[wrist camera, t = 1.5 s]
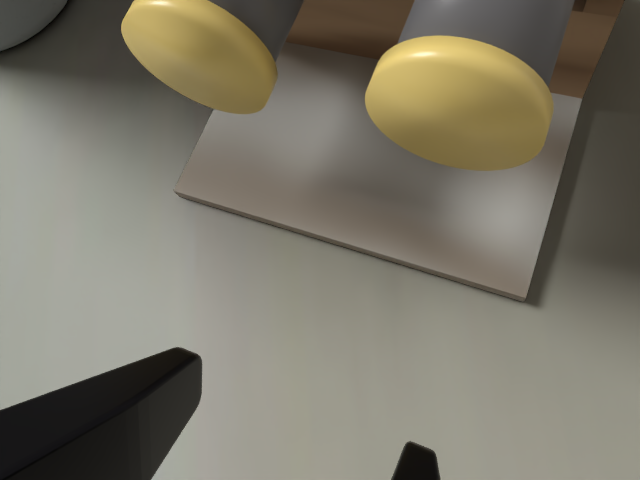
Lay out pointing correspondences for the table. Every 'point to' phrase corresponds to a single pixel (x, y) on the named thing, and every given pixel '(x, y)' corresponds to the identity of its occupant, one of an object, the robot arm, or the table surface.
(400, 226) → the console
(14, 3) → the water bottle
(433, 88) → the knob right
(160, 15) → the knob left
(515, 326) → the table surface
